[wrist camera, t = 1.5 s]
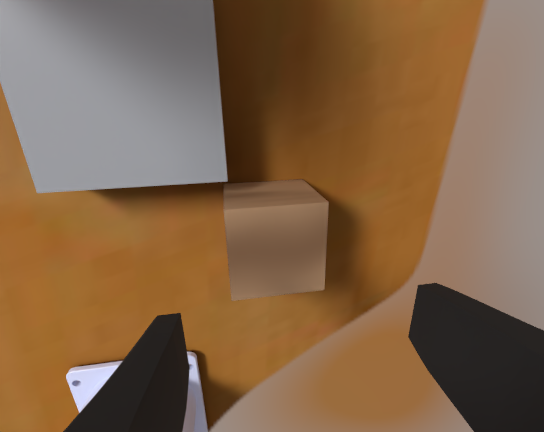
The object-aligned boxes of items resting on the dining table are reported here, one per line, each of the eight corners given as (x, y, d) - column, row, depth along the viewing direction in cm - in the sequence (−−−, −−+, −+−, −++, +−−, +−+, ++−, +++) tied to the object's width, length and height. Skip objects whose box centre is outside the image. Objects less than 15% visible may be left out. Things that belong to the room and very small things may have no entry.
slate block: (227, 168, 16) (227, 181, 13) (72, 177, 15) (37, 193, 12) (212, -6, 13) (209, -35, 10) (19, -10, 12) (-42, -45, 9)
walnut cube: (301, 248, 18) (324, 289, 14) (229, 255, 18) (231, 300, 13) (302, 178, 17) (328, 202, 12) (223, 183, 16) (223, 209, 12)
